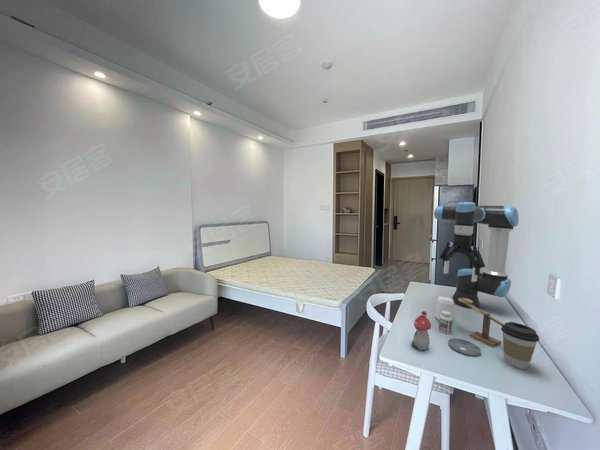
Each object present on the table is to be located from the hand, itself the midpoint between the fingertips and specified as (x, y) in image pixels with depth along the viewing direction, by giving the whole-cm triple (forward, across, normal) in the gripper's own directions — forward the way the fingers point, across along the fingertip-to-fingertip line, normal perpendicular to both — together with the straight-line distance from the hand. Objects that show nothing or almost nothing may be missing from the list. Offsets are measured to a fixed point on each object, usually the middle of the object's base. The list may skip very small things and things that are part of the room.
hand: (459, 277), depth 118 cm
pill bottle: (+28, -2, -4) cm, 29 cm away
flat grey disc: (+28, +11, -10) cm, 32 cm away
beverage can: (+28, -11, +8) cm, 32 cm away
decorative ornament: (+28, +2, -27) cm, 39 cm away
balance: (+28, +10, +7) cm, 31 cm away
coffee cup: (+28, +25, -1) cm, 38 cm away
